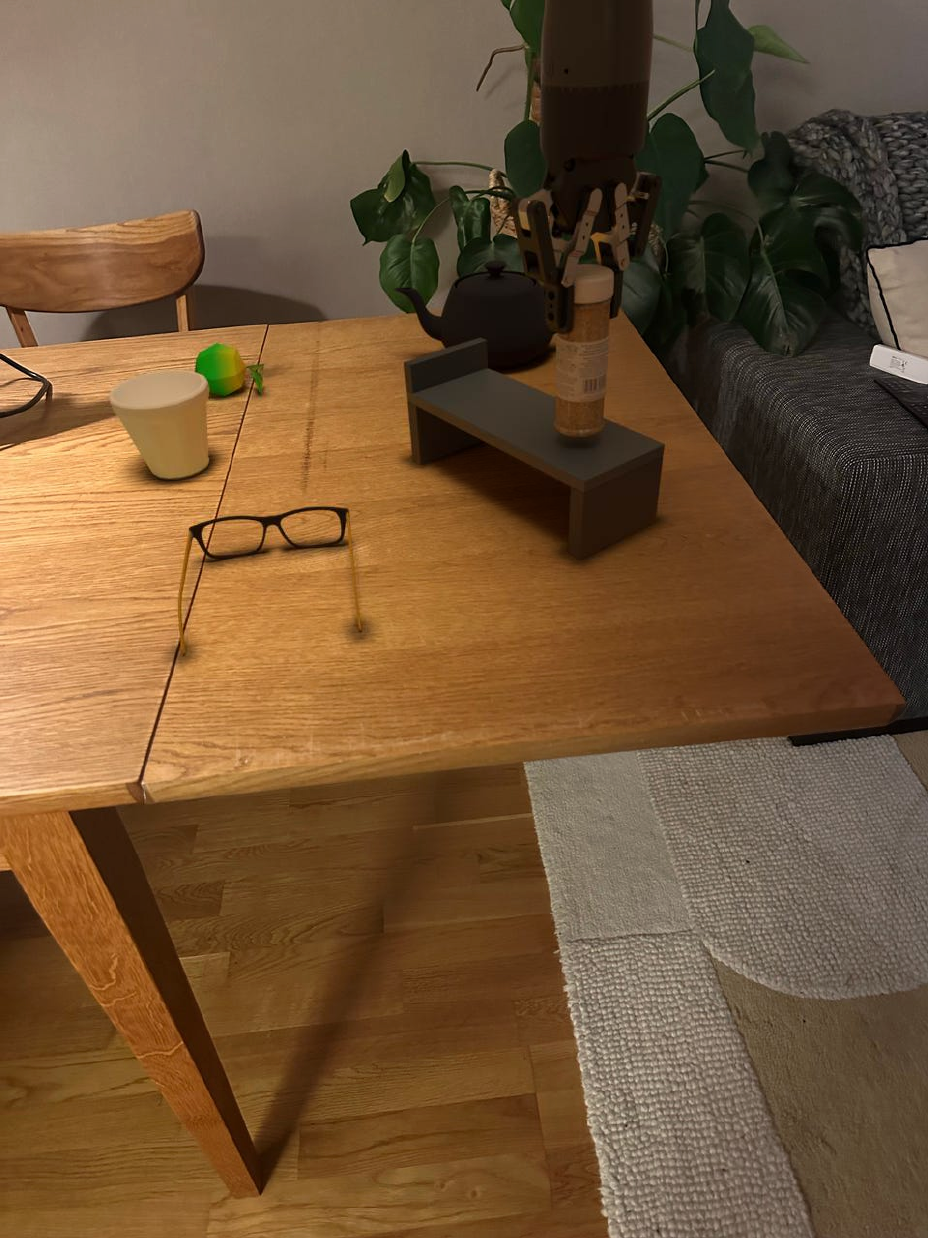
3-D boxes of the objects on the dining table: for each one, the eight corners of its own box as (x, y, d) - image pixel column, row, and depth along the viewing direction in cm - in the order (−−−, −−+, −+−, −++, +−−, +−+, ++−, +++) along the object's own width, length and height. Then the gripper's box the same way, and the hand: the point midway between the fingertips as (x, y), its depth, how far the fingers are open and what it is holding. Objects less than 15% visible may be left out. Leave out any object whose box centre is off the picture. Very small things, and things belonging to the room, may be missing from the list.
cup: (242, 469, 88) (223, 388, 83) (153, 500, 84) (126, 416, 78) (205, 439, 95) (185, 361, 89) (121, 466, 90) (94, 386, 84)
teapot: (572, 331, 118) (575, 241, 110) (590, 371, 106) (595, 273, 98) (401, 341, 118) (393, 251, 110) (399, 382, 106) (390, 285, 98)
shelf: (656, 521, 77) (669, 411, 70) (580, 560, 72) (586, 448, 65) (483, 432, 93) (480, 337, 86) (412, 460, 88) (403, 361, 82)
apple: (184, 337, 101) (256, 330, 101) (199, 356, 107) (267, 350, 108) (189, 393, 101) (262, 386, 101) (204, 408, 107) (272, 402, 107)
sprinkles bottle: (594, 414, 74) (602, 259, 66) (611, 435, 71) (623, 274, 63) (546, 421, 74) (549, 265, 65) (561, 442, 70) (566, 281, 62)
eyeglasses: (353, 537, 76) (347, 501, 74) (362, 632, 65) (356, 592, 63) (199, 556, 75) (189, 519, 73) (182, 656, 64) (168, 616, 61)
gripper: (556, 88, 50) (550, 358, 61) (705, 67, 57) (676, 314, 68) (481, 83, 55) (487, 334, 66) (626, 64, 62) (611, 295, 72)
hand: (583, 322), depth 67 cm, fingers closed on sprinkles bottle, 4 cm apart
